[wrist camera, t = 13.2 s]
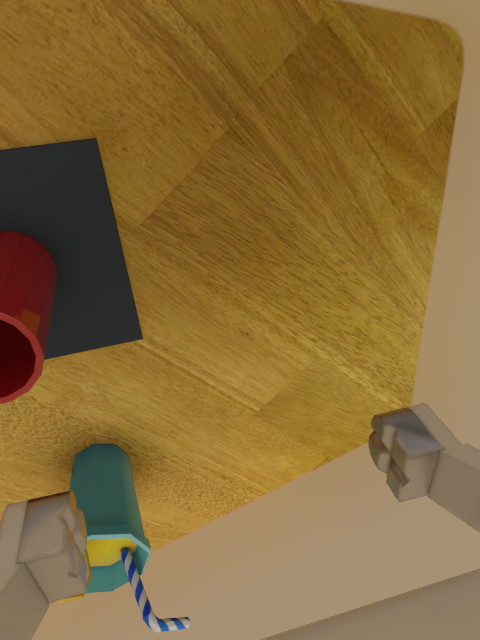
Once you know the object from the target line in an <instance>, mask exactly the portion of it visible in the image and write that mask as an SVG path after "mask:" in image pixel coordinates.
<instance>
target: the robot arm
mask: <svg viewBox="0 0 480 640" xmlns="http://www.w3.org/2000/svg"><path fill="white" fill-rule="evenodd" d="M371 426H372V428H373V429H374V431H373V433H372V434H371V435H370V436H369V449H370V454H371V456H372V459H373V461H374V463H375V465H376V466H377V468H378V469H379V470H381V471H383V472H384V473H386V474H387V484H388V485H389V487H390V488H391V490H392V492H393V493H394V495H395V496H396V498H397V499H398V501H399V502H403V501H407V500H411V499H415V498H419V497H422V496H427V495H428V497H429V498H430V499H432V500H433V501H435V502H436V503H437V504H439V505H440V506H442V507H443V508H445V509H446V510H448V511H449V512H451V513H452V514H454V515H455V516H456V517H458V518H459V519H461V520H462V521H464V522H465V523H467V524H468V525H470V526H471V527H472V528H474V529H475V530H477V531H478V532H480V449H477V448H475V447H473V446H471V445H469V444H464V445H462V444H461V443H460V441H459V440H458V439H457V438H456V437H455V436H454V435H453V434H452V432H451V431H450V430H449V429H448V428H447V427H446V426H445V425H444V423H443V422H442V421H441V420H440V419H439V418H438V417H437V415H436V414H435V413H434V412H433V411H432V410H431V408H429V406H428V405H426V404H424V403H422V404H418V405H415V406H410V407H407V408H405V407H404V408H401V409H397V410H393V411H389V412H385V413H382V414H378V415H374V417H373V418H372V421H371ZM76 502H77V498H76V496H75V494H74V492H73V491H67V492H63V493H58V494H54V495H49V496H45V497H40V498H36V499H31V500H27V501H23V502H18V503H14V504H10V505H7V507H6V508H5V510H4V512H3V517H2V522H1V526H0V640H31V639H32V637H33V635H34V634H35V632H36V630H37V628H38V626H39V624H40V622H41V620H42V619H43V617H44V615H45V613H46V611H47V609H48V608H49V603H52V602H55V601H58V600H61V599H65V598H68V597H71V596H74V595H77V594H81V593H84V592H86V563H85V560H84V558H83V556H82V554H83V553H84V551H85V550H86V548H87V530H86V522H85V518H84V515H83V512H82V510H81V509H79V508H77V507H76ZM261 640H480V569H477V570H474V571H471V572H468V573H465V574H462V575H459V576H456V577H452V578H450V579H446V580H443V581H440V582H437V583H434V584H431V585H428V586H425V587H422V588H419V589H415V590H412V591H409V592H406V593H403V594H400V595H397V596H394V597H391V598H388V599H385V600H382V601H378V602H376V603H372V604H369V605H366V606H363V607H360V608H357V609H354V610H351V611H348V612H345V613H341V614H338V615H335V616H332V617H329V618H326V619H323V620H320V621H317V622H314V623H311V624H308V625H304V626H301V627H298V628H295V629H292V630H289V631H286V632H283V633H280V634H277V635H273V636H270V637H268V638H264V639H261Z"/></svg>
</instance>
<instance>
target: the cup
mask: <svg viewBox="0 0 480 640" xmlns="http://www.w3.org/2000/svg"><path fill="white" fill-rule="evenodd" d="M69 491H73V492H74V494H75V496H76V498H77V502H76V507H77V508H79V509H81V510H82V512H83V515H84V518H85V522H86V530H87V548H86V550H85V551H84V553H83V554H82V556H83V558H84V560H85V563H86V592H84V593H81V594H77V595H74V596H71V597H68V598H65V599H61V600H58V601H56V602H57V603H61V602H67V601H72V600H77V599H79V598H81V597H83V596H84V594H85V593H94V592H107V591H113V590H115V589H116V588H118V587H120V586H122V585H124V584H125V583H127V582H129V581H130V584H131V587H132V589H133V592H134V595H135V598H136V600H137V603H138V606H139V609H140V612H141V614H142V617H143V620H144V621H145V622H146V624H147V625H148V626H149V627H150V628H151V629H152V630H153V631H154V632H162V631H170V630H178V629H186V628H189V626H190V620H189V618H188V617H183V618H182V617H181V618H167V619H159V618H157V617H156V616H155V615H154V614H153V612H152V609H151V606H150V603H149V600H148V598H147V595H146V593H145V590H144V587H143V585H142V582H141V579H140V575H141V574H142V573H143V571H144V569H145V566H146V563H147V560H148V558H149V555H150V552H151V547H150V544H149V540H148V539H147V538H146V537H145V536H144V531H143V526H142V521H141V516H140V512H139V507H138V502H137V497H136V492H135V487H134V482H133V477H132V472H131V467H130V463H129V458H128V456H127V455H126V454H125V453H124V452H123V451H122V450H121V449H120V448H119V447H118V446H117V445H105V444H94V445H92V446H90V447H89V448H87V449H85V450H83V451H82V452H80V453H78V454H76V457H75V462H74V466H73V471H72V477H71V483H70V489H69Z"/></svg>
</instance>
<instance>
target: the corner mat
mask: <svg viewBox="0 0 480 640" xmlns="http://www.w3.org/2000/svg"><path fill="white" fill-rule="evenodd" d="M0 231H13V232H18V233H21V234H24V235H27V236H29V237H31V238H33V239H35V240H36V241H38V242H39V243H40V244H42V245H43V246H44V247H45V248H46V249H47V250H48V252H49V253H50V254H51V256H52V258H53V260H54V262H55V265H56V269H57V282H56V289H55V295H54V301H53V307H52V313H51V319H50V326H49V332H48V338H47V344H46V350H45V356H44V360H45V359H49V358H54V357H59V356H64V355H68V354H73V353H78V352H83V351H87V350H92V349H97V348H102V347H106V346H111V345H116V344H121V343H125V342H130V341H135V340H140V339H143V338H142V333H141V329H140V325H139V320H138V316H137V312H136V308H135V303H134V299H133V295H132V290H131V286H130V282H129V277H128V273H127V269H126V265H125V260H124V256H123V252H122V247H121V243H120V239H119V235H118V230H117V226H116V222H115V217H114V213H113V209H112V204H111V200H110V196H109V192H108V187H107V183H106V179H105V174H104V170H103V166H102V162H101V157H100V153H99V149H98V144H97V140H96V138H94V139H86V140H78V141H70V142H63V143H55V144H47V145H39V146H31V147H23V148H15V149H7V150H0Z"/></svg>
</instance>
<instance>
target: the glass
mask: <svg viewBox="0 0 480 640" xmlns="http://www.w3.org/2000/svg"><path fill="white" fill-rule="evenodd" d="M56 282H57V269H56V265H55V262H54V260H53V258H52V256H51V254H50V253H49V252H48V250H47V249H46V248H45V247H44V246H43V245H42V244H40V243H39V242H38V241H36V240H35V239H33V238H31V237H29V236H27V235H24V234H21V233H18V232H13V231H0V404H2V403H6V402H10V401H13V400H14V399H16V398H18V397H19V396H21V395H23V394H24V393H26V392H28V391H29V390H30V389H31V388H32V387H33V385H34V384H35V383H36V381H37V380H38V378H39V377H40V376H41V374H42V368H43V362H44V356H45V350H46V344H47V338H48V332H49V326H50V319H51V313H52V307H53V301H54V295H55V289H56Z"/></svg>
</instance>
